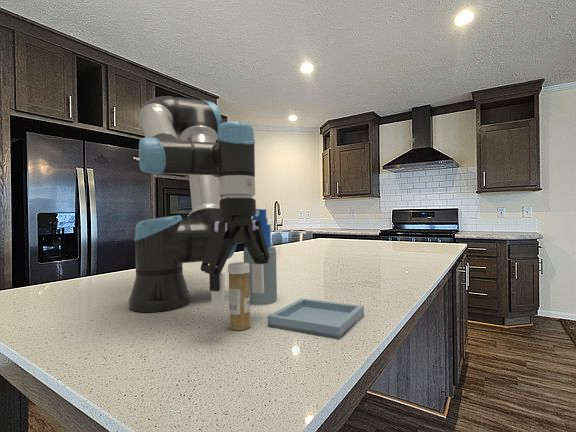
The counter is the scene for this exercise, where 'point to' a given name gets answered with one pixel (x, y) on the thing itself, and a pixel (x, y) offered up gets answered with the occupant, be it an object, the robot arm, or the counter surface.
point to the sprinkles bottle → (239, 295)
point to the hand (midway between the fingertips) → (240, 299)
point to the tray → (317, 317)
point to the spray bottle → (269, 268)
